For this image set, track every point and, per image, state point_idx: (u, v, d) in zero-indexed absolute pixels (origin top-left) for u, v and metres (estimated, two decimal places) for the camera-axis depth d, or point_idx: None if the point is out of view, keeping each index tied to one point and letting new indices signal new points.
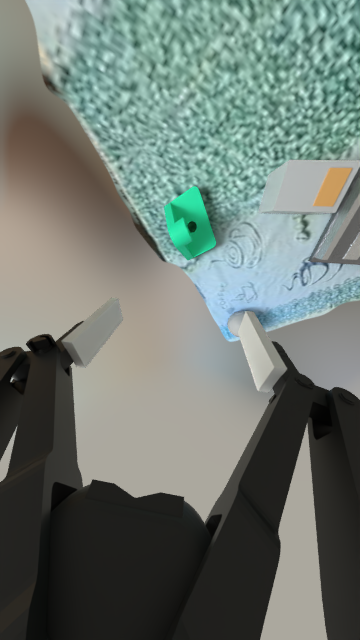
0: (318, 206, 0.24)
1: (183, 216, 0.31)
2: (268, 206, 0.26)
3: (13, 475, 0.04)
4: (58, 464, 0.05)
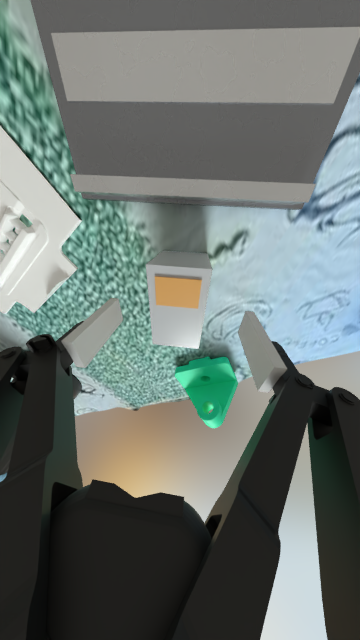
0: (199, 299, 0.14)
1: (195, 382, 0.32)
2: None
3: (13, 476, 0.04)
4: (58, 464, 0.05)
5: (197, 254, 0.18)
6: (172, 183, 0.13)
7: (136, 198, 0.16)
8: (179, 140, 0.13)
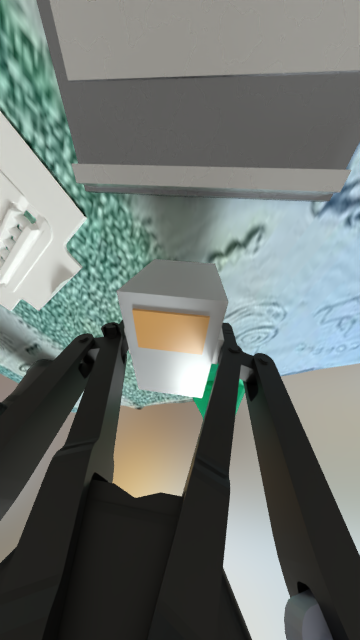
0: (204, 342, 0.09)
1: None
2: None
3: (68, 450, 0.05)
4: (100, 453, 0.05)
5: (201, 266, 0.13)
6: (182, 172, 0.12)
7: (142, 190, 0.14)
8: (191, 122, 0.12)
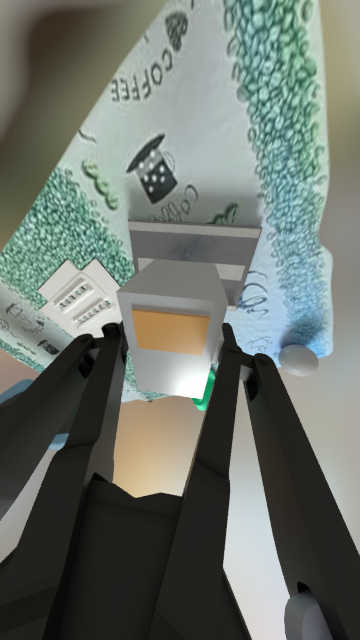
0: (204, 343, 0.09)
1: None
2: None
3: (68, 450, 0.05)
4: (100, 453, 0.05)
5: (201, 266, 0.13)
6: None
7: None
8: None
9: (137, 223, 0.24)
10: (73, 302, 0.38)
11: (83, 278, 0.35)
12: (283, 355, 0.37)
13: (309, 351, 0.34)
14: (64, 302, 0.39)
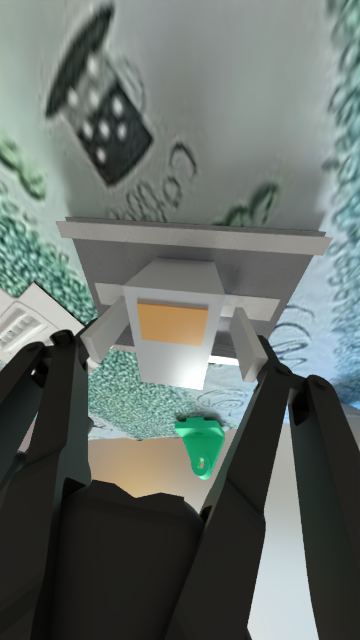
0: (203, 334, 0.10)
1: (191, 435, 0.39)
2: None
3: (30, 465, 0.05)
4: (70, 459, 0.05)
5: (201, 264, 0.14)
6: None
7: None
8: None
9: (74, 224, 0.12)
10: (15, 340, 0.26)
11: (22, 309, 0.22)
12: None
13: None
14: (4, 338, 0.27)
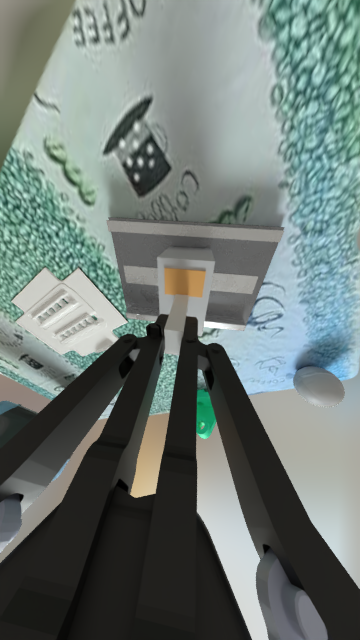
0: (203, 289, 0.16)
1: None
2: None
3: (101, 446, 0.05)
4: (127, 459, 0.05)
5: (201, 249, 0.20)
6: None
7: None
8: None
9: (118, 222, 0.18)
10: (53, 316, 0.32)
11: (64, 290, 0.29)
12: (299, 380, 0.31)
13: (333, 377, 0.28)
14: (43, 315, 0.33)
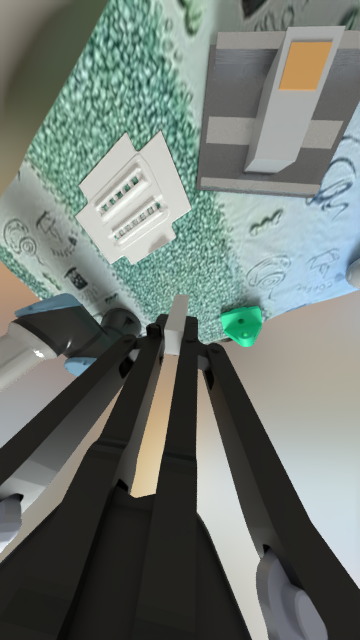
0: (320, 76, 0.17)
1: (233, 325, 0.48)
2: (282, 166, 0.24)
3: (101, 446, 0.05)
4: (127, 458, 0.05)
5: None
6: (251, 182, 0.27)
7: (225, 189, 0.30)
8: None
9: (229, 34, 0.19)
10: (120, 200, 0.34)
11: (138, 164, 0.30)
12: (356, 265, 0.32)
13: None
14: (108, 203, 0.35)
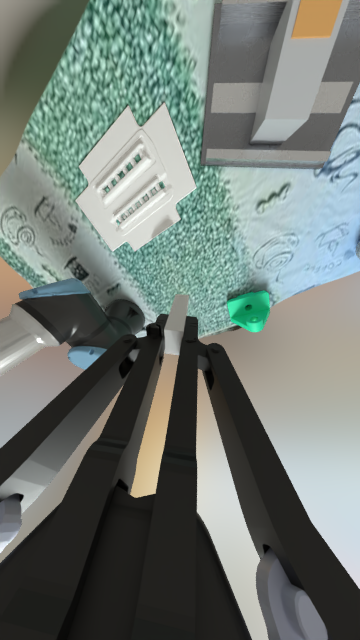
0: (335, 20, 0.16)
1: (240, 311, 0.47)
2: (292, 129, 0.23)
3: (101, 447, 0.05)
4: (126, 458, 0.05)
5: None
6: (259, 152, 0.26)
7: (231, 163, 0.29)
8: None
9: None
10: (122, 180, 0.32)
11: (141, 140, 0.29)
12: None
13: None
14: (109, 184, 0.33)
